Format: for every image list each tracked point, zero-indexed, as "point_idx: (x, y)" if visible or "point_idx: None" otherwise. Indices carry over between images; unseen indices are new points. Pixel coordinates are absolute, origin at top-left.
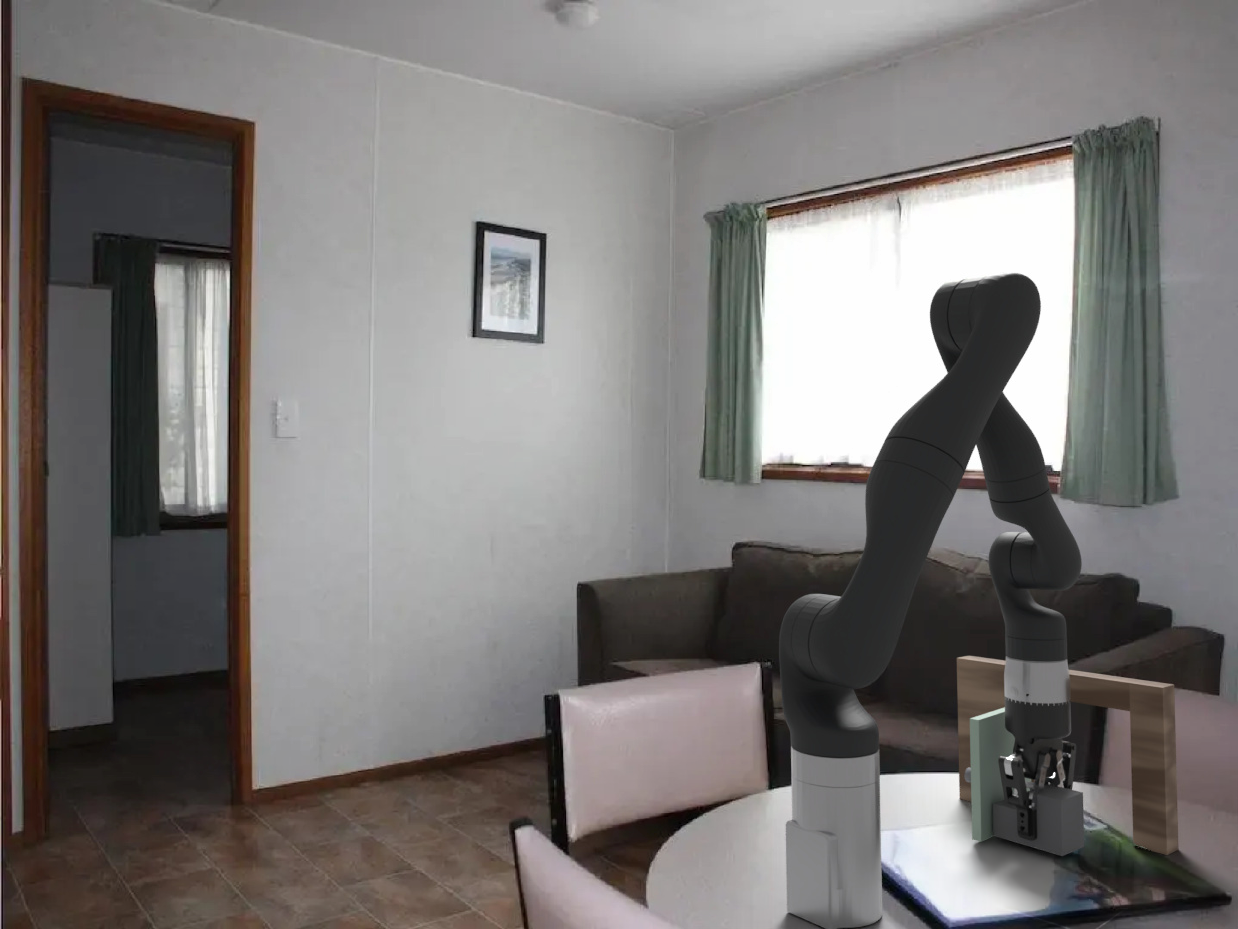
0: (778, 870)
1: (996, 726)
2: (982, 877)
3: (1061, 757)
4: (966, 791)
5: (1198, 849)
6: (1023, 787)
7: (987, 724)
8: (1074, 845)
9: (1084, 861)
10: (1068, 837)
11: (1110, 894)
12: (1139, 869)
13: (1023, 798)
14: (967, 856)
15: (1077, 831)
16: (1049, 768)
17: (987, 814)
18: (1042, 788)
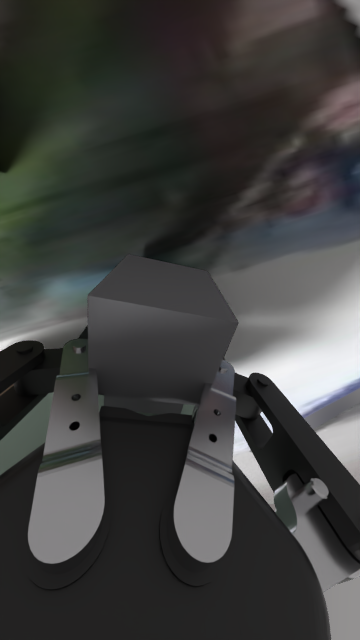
0: (353, 450)
1: None
2: (309, 335)
3: (46, 483)
4: None
5: None
6: (293, 422)
7: None
8: (163, 264)
9: (160, 241)
10: (187, 274)
11: (317, 137)
12: (128, 118)
13: (276, 394)
14: (240, 370)
15: (148, 268)
16: (123, 443)
17: (185, 404)
18: (210, 389)
